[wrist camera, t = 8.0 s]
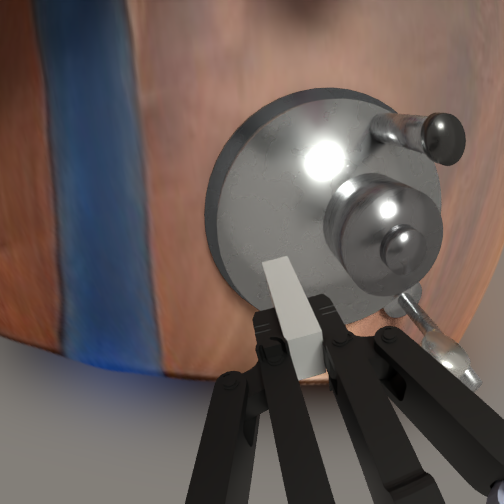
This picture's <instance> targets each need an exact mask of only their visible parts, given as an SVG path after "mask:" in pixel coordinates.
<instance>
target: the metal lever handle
mask: <svg viewBox="0 0 504 504" xmlns="http://www.w3.org/2000/svg"><path fill="white" fill-rule="evenodd" d="M421 294H422V288H421V285H420V283H419V282H418V283H417V284H415V285H414V286H413V287H411V288H410V289H408V290H406V291H404V292H402V293H401V294H400V295H399V296H398V297H397V298H396V299H394V300H393V301H392V302H390V303H389V304H388V305H386V306H385V307H383V309H384V311H385V312H386V313H387V315H389V316H390V317H393V318H398V317H402V316H405V315H406V314H407V315H408V316H409V317H410V319H411V320H412V321H413V322H414V324H415V325H416V326H417V327H418V329H419V330H420V331H421V332H422V334H423V335H424V336H425V337H424V338H423V340H422V341H421V343H420V344H419V345H420V346H421V347H422V348H423V349H424V350H425V351H427V352H428V353H429V354H430V355H431V356H432V357H434V358H435V359H436V360H437V361H438V362H439V363H441V364H442V365H443V366H444V367H445V368H446V369H448V370H449V371H450V372H451V373H452V374H453V375H454V376H456V377H457V378H458V379H459V380H460V381H461V382H462V383H464V384H465V385H466V386H467V387H468V388H469V389H470V390H471V391H473V392H475V391H476V390H477V389H478V388H479V387H480V386H481V384H482V381H481V379H480V378H479V377H478V375H477V374H476V373H475V371H474V370H473V369H472V368H471V366H470V359H469V357H468V355H467V353H466V352H465V350H464V349H463V348H462V347H461V346H460V345H459V344H458V343H457V342H455V341H454V340H453V339H451V338H450V337H448V336H446V335H444V333H443V332H442V331H441V330H440V329H439V327H438V326H437V325H436V324H435V323H434V322H433V321H432V319H431V318H430V317H429V316H428V315H427V314H426V313H425V311H424V310H423V309H422V308H421V307H420V306H419V305H418V302H419V300H420V298H421Z"/></svg>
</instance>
